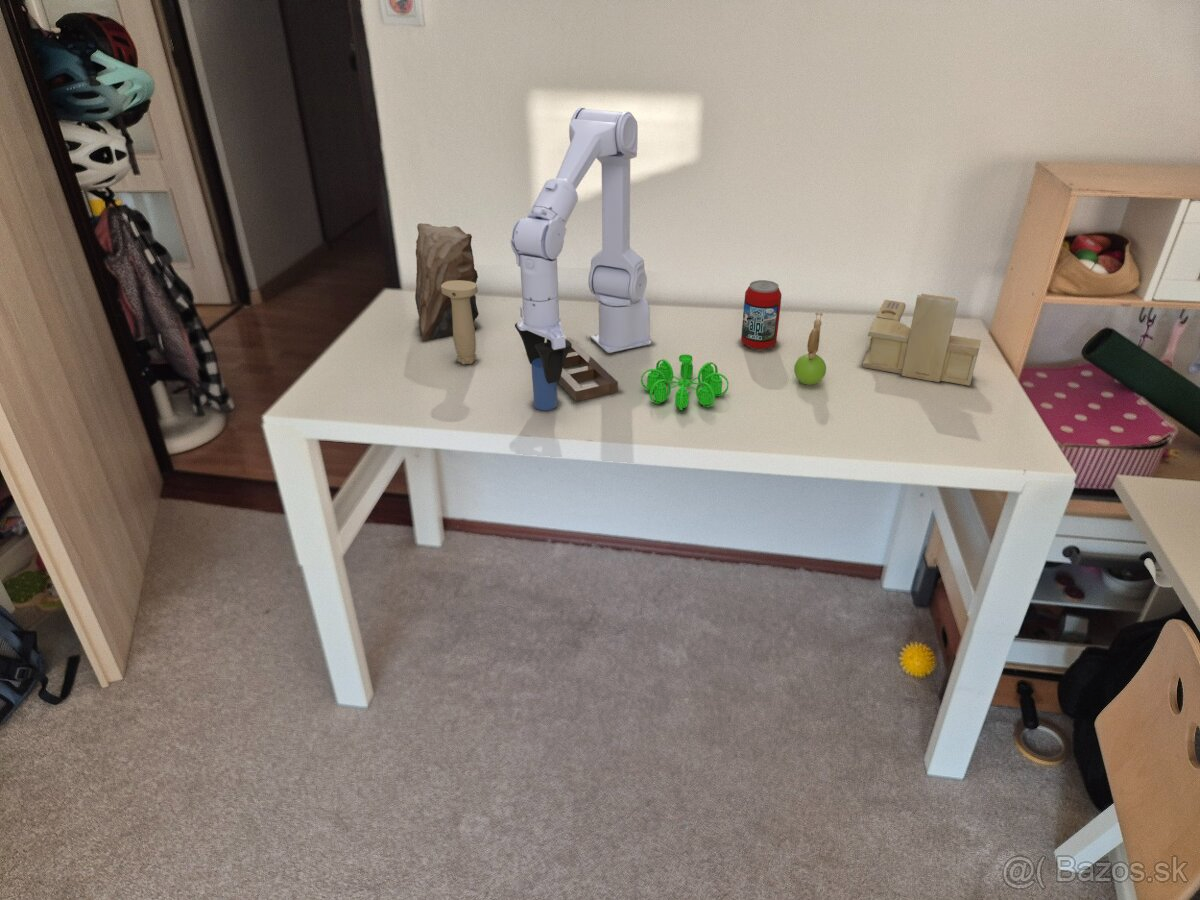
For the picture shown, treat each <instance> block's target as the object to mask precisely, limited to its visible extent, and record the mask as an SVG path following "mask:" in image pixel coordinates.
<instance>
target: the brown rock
mask: <svg viewBox="0 0 1200 900" xmlns="http://www.w3.org/2000/svg"><path fill="white" fill-rule="evenodd" d="M416 227H417V228H416V229H417V232H418V235H417V239H416V240H415V244H416V245H415V257H416V277H415V293H414V294H415V295H414V300H415V305H416V309H417V314H418V322H419V323H418V324H419V329H420V337H421V340H422V342H427V341H432V340H436V339H442V338H447V337H450V336H453V318H452V303H451V298H450V297H448V296H446V295H444V294H443V293H442V290H441V285H442V284H443V283H445V282H447V281H454V280H463V281H470V282H474V283H476V284H477V282H478V278H479V275H478V271H477V270H476V268H475V260H474V259H475V257H474V255H473V254H474V253H473V247H472V239H473V236H472V234H471V233H466V232H465V231H464V230H462V228H461V227H460V226H457V225H454V226H450V227H448V226H435V225H432V224H429V223H421V222H420V223H418V224H417V226H416ZM470 304H471V311H472V318H473V324H474V329H475V331H476V330H477V329H478V326H476V324H475V321H476V319H477V318H478V317H479V314H480V313H479V309H478V305H477V296H476V294H475V295H474V296H472V297H470Z"/></svg>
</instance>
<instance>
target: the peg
mask: <svg viewBox="0 0 1200 900" xmlns="http://www.w3.org/2000/svg"><path fill="white" fill-rule="evenodd" d="M531 364H532V365H531ZM531 364H530V365H531V379H532V380H531V381H532V395H533V407H534V408H535V409H537V410H539V411H550V410H554V409H555V408H557V406H558V385H557V383H558V382H554V383H547V381H546V378H545V374H544V369H543V364H542V360H541V358H537V359H535V360H533V361H532V363H531Z"/></svg>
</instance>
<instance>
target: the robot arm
mask: <svg viewBox="0 0 1200 900" xmlns="http://www.w3.org/2000/svg"><path fill="white" fill-rule="evenodd" d="M568 126H569V128H568V135H569V136H568V138H569V142H570V143H569V146H568V148H567V150H566V152H565V155H564V157H563V160H562V162H561V164H560V167H559V169H558V171H557V174H556V176H555V178H550V179H548V180H546V181H545V182H544V184H543V186H542V188H541V190H540V192H539V193H538V195H537V198H536V200H535V201H534V203H533V204H532V206H531V208H530V211H529V213H528V214H527V216H524V217H521V219H518V220H517V221H516V222H515V224H514V225H513V228H512V231H511V239H510V247H511V250H512V252H513V253H514V255H515V261H516V265H517V266H518V267H519V268H520V281H521V282H520V283H521V297H522V299H521V300H522V305H520V306H519V310H520V311H519V312H520V318H522V321H519V322H516V323H515V324H514V328H515V329H516V331H517V333H518V334H519V336H520V338H521V340H522V343H523V347H524V349H525V353H526V356H527V360H528V363H529V364H530V365H531V366H532V364H531V363H532V361H533V360H535V359H537V358H541V360H542V364H543V369H544V374H545V378H546V381H547V383H554V382H557V383H558V381H560V377H561V373H562V369H563V365H564V361H565V359H566V356H567V354H568V353H569V351H570V350H571V347H572V344H571V343H570V342H569V341H568V340H565V338H566V336H565V335H564V333H563V327H562V320H561V317H560V299H559V298H560V297H559V296H560V295H559V276H558V275H559V274H558V257H559V256H560V254H561V253H562V251H563V249H564V248H563V247H564V242H565V236H566V234H567V228H566V227H567V226H566V225H567V223H568V221H569V220H570V217H571V215H572V213H573V211H574V209H575V208H576V206H577V204H578V201H579V195H578V191H577V190H576V189H577V188H578V187H579V185H580V184H581V182H582V180H583V179H584V178H585V176H586V174H587V173H588V171H589V170H590V168H591V167H592V165H593V163H594V162H595V161H596V160H597V161H599V163H600V165H601V237H602V241H601V242H602V244H601V246H602V247H601V248H602V249H601V250H599V251H598V252H597V253H595V254H594V255H593V256H592V258H591V260H590V267H589V268H590V270H589V274H588V280H587V283H588V284H587V285H588V288H589V291H590V292H591V294H592V295H594V298H595V301H598V333H597V334H593V335H591V336H590V338H591V339H592V341H593V342H594V343H596V344H597V345H598V346H599V347H600V348H601V349H602V350H604V351H605V352H606V353H607V354H611V353H617V352H620V351H625V350H629V349H634V348H640V347H644V346H649V345H651V344H652V341H651V340H650V331H651V328H650V327H651V310H650V309H651V308H650V304H649V302H648V300H647V298H646V297H645V296H644V294H645V292H646V289H647V283H648V278H647V277H648V276H647V273H646V269H645V260H644V258H643V257H642V256H640V255H639V253H637V252H636V251H635V250H633V248H632V247H631V159H634V158H637V156H638V136H639V135H638V131H639V129H638V128H639V127H638V126H639V125H638V120H637V119H636V117H635V116H634V114H633V113H632V112H631V111H614V110H603V109H592V108H591V109H590V108H585V107H578V108H577V109H576V110H575V111H574V113H573V114H572V116H571V119H570V122H569V125H568ZM544 342H545V343H544ZM546 342H547V343H546Z"/></svg>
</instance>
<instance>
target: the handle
mask: <svg viewBox="0 0 1200 900" xmlns="http://www.w3.org/2000/svg"><path fill="white" fill-rule="evenodd" d="M441 290H442V293H443V294H444V295H446V296H448V297H450V298H451V303H452V318H453V344H454V349H455V352H456V357H457V361H458V363H461V364H462V365H463V366H464V365H465V366H466V365H469V364H470V365H472V364H473V363H475V361H476V358H477V355H476V349H477V347H476V346H477V345H476V344H477V339H476V330H475V329H474V324H475V323H474V324H473V318H472V311H471V304H470V297H472V296H474V295H475V296H476V294H477V293H478V291H479V290H478V284H477V282H476V283H474V282H470V281H463V280H454V281H447V282H445V283H443V284H442V285H441Z"/></svg>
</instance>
